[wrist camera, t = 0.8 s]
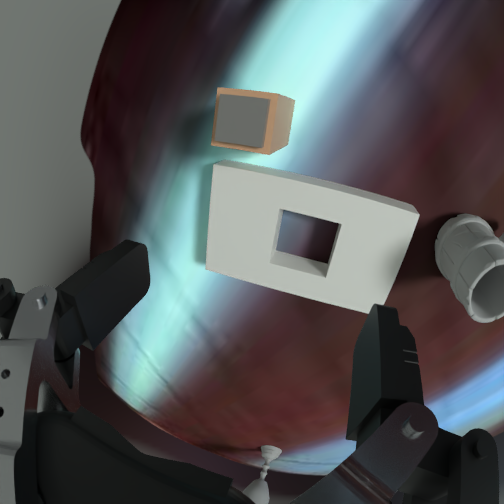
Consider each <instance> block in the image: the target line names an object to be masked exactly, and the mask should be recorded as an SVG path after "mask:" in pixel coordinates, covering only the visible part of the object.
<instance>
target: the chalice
mask: <svg viewBox="0 0 504 504" xmlns="http://www.w3.org/2000/svg"><path fill="white" fill-rule="evenodd" d="M261 450H262V451H261V452H262V456H263V458H265V460H266V462H265V464H264V465H262V466H263V470H262V472H260V473H261V477H260V479H259V480H255V481H253V482H252V483H251V484H250V485H249V486H248V487H247V488H246V489H245V490H244V491H243V492H242V493H243V494H245V495H246V496H248V497H249V498H250V499H251V500H252V501H253V502H255V503H256V504H268V502H269V490H268V486H267V483H266V482H265V481H264V477H265V476H266V475H267V469H268V468H270V467H269V463H270V461H272V460H275V459H276V458H277V457H278V456H279V454H281V453H282V451H281V450H280V449H279V448H277V447H274V446H268V445H265V446H262V447H261Z"/></svg>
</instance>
